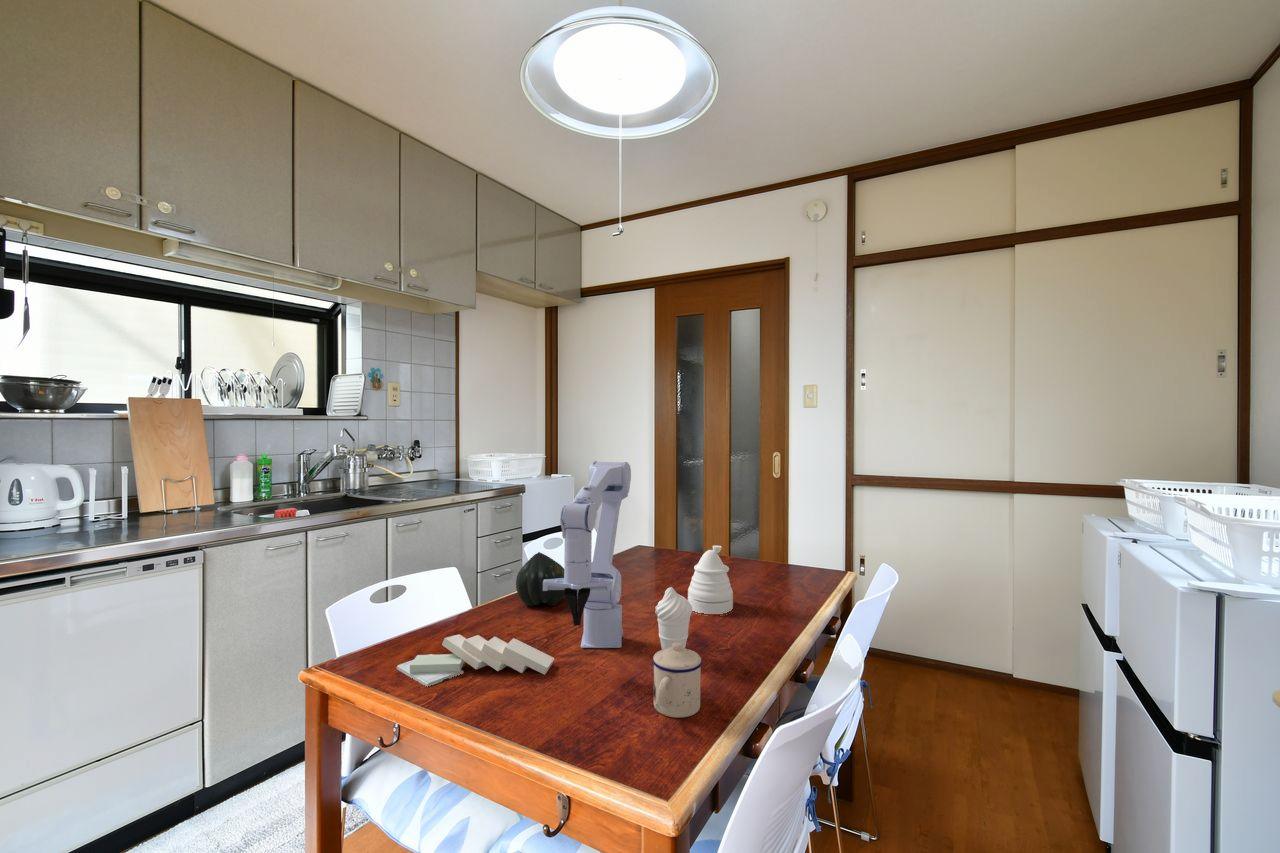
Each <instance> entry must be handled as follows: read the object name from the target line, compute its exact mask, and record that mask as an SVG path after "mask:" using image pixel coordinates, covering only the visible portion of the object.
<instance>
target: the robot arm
mask: <svg viewBox="0 0 1280 853" xmlns="http://www.w3.org/2000/svg"><path fill="white" fill-rule="evenodd" d="M588 479H589V481H588V484H584V486H582V487H581V488H580V490H579V491H578V492H577V494H576V496H575V497H574V498H573V499H572V501H571V502H568V503H567V504H565V505H563V506H562V509H561V511H560V518H559V521H560V527H561V534H562V535H561V536H562V538H563V540H564V557H563V558H564V563H563V564H564V567H563V568H564V578H558V579H544V581H543V591H548V590H565V594H564V599H565V601H566V603H567V605H568V607H569V609H570V610H569V611H570V614H571V616H572V617H571V618H572V622H573V626H581V625H582V616H583V634H582V637H581V643H580V648H582V649H613V648H614V649H621V648H622V641H623V640H622V639H623V638H622V637H624V628H622V626H623V624H622V622H623V621H622V620H623V619H622V618H623V615H622V614H623V605H622V604H618V603H619V602H620V599H621V596H622V575H621V572H620V570H619V569H617V568H616V567H615V566H614V565H613V559H614V551H615V544H616V539H617V538H616V537H617V529H618V522H619V515H620V509H621V504H622V501H623V500H624V499H626V498H628V496H629V493H630V489H631V488H630V487H631V481H632V480H631V479H632V470H631V465H630V464H629V462H628V461H623V462H621V461H620V462H619V461H597V460H593V461H592V462H591V463H590V465H589V469H588ZM600 506H601V507H600ZM599 508H600V512H599V518H598V510H599ZM597 518H598V525H597V531H596V537H595V543H594V551H593V556H592V549H593V548H592V543H593V542H592V538H593V537H592V535H593V534H592V533H593V532H592V531H593V530H594V529H595V526H596V520H597Z"/></svg>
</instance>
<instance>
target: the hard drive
mask: <svg viewBox="0 0 1280 853" xmlns="http://www.w3.org/2000/svg"><path fill="white" fill-rule="evenodd" d="M428 655H434V654H432V653H430V654H428ZM413 660H414V659H412V660H409V661H406V662H403V663H399V664H398V665H397V666H396V670H397V671H399V672H401V673H402V674H405V675H406V676H408V677H409V678H411V679H412V678H413V679H412V680H414V681H416V682H417V681H418V682H417V683H420V684H421V685H423V686H424V685H425V686H424V687H426V686H427V688H429V687H432V686H434V685H436V684H440V683H441V682H444V681H446V680H449V679H452V677H453V678H455V677H458V676H460V674H461V675H463V674H465V673H464V672H465V671H464V670H463V669H461V670H460V672H425V673H410V664H411V663H412V662H413ZM457 675H458V676H457ZM454 676H455V677H454ZM443 680H444V681H443ZM431 685H432V686H431ZM428 686H429V687H428Z"/></svg>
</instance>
